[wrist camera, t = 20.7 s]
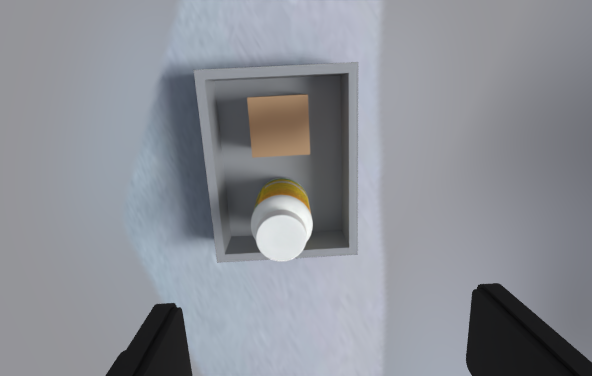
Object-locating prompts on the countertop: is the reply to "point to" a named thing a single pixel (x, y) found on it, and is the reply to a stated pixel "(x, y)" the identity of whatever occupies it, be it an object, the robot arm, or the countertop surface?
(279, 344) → the countertop surface
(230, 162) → the tote
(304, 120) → the walnut cube
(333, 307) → the countertop surface
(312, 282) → the countertop surface
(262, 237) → the supplement bottle
